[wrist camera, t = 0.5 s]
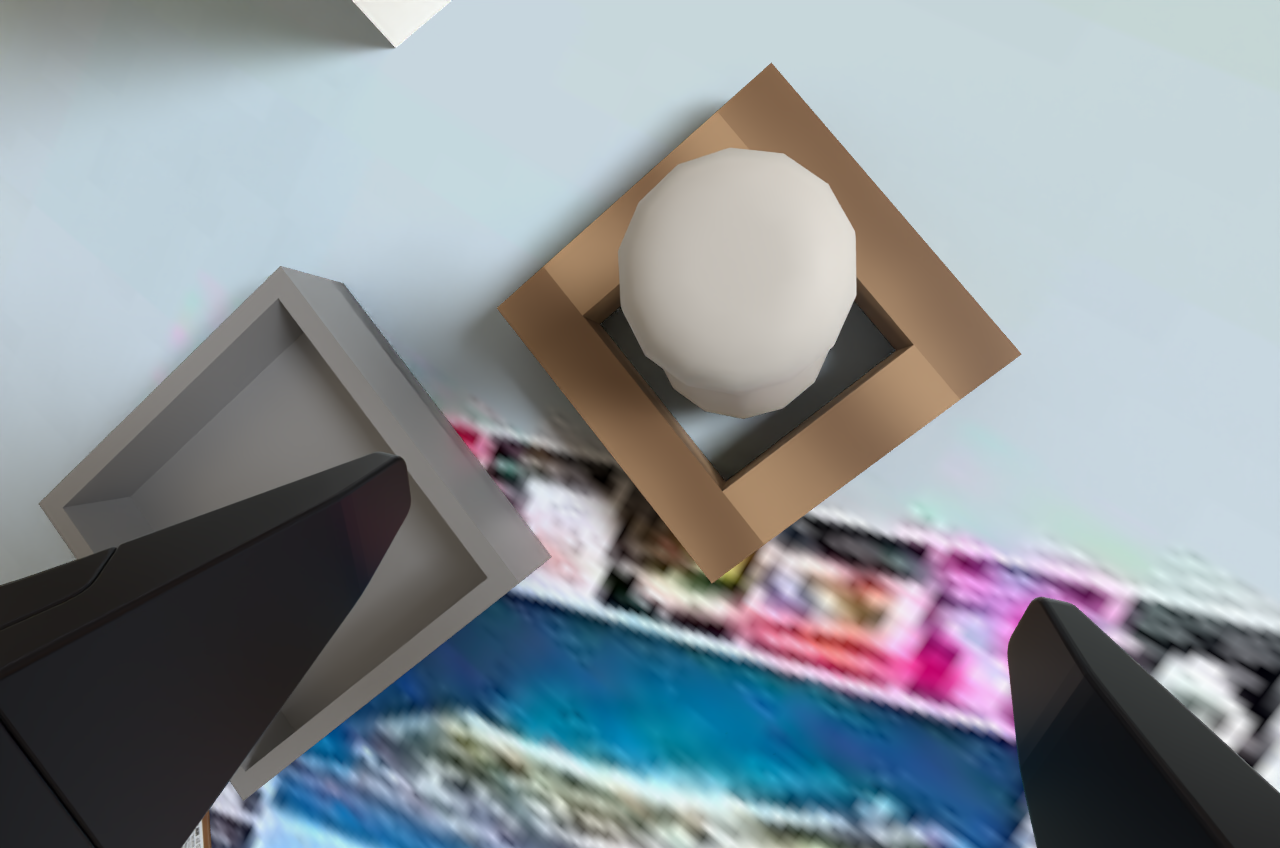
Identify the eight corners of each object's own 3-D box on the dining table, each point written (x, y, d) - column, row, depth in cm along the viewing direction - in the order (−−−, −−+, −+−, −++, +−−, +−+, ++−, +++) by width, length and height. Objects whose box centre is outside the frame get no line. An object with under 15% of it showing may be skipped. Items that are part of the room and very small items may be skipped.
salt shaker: (633, 353, 24) (496, 302, 11) (724, 225, 23) (691, 11, 10) (759, 447, 23) (769, 507, 10) (858, 318, 22) (1000, 211, 10)
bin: (308, 749, 27) (243, 800, 24) (126, 490, 28) (38, 503, 25) (551, 557, 25) (519, 582, 21) (343, 283, 26) (280, 266, 22)
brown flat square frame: (715, 563, 24) (711, 583, 21) (522, 317, 25) (496, 308, 22) (990, 359, 22) (1021, 354, 19) (769, 99, 23) (771, 62, 20)
